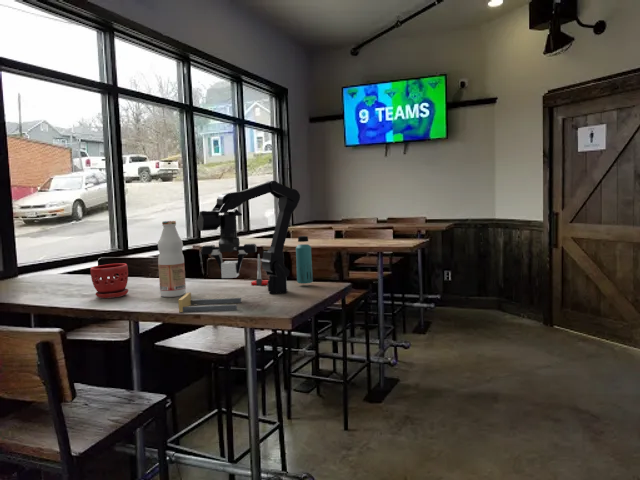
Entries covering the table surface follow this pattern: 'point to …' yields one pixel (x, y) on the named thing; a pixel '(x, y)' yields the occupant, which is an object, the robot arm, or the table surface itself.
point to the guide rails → (186, 302)
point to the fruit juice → (171, 262)
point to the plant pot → (110, 280)
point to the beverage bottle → (304, 261)
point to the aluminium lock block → (229, 269)
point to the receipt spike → (259, 275)
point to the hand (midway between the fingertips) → (230, 273)
